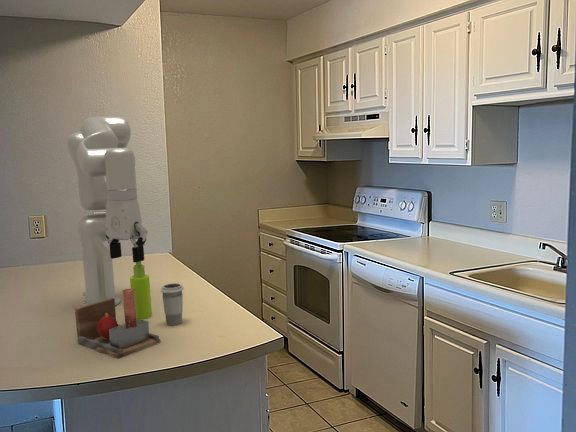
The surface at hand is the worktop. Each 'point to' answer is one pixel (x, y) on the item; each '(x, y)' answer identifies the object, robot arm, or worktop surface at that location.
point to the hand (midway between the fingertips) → (127, 259)
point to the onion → (106, 325)
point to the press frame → (88, 330)
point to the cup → (173, 303)
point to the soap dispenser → (141, 291)
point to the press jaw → (129, 325)
